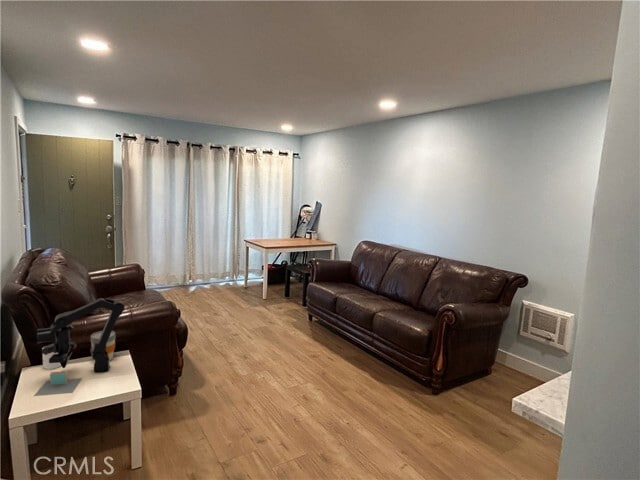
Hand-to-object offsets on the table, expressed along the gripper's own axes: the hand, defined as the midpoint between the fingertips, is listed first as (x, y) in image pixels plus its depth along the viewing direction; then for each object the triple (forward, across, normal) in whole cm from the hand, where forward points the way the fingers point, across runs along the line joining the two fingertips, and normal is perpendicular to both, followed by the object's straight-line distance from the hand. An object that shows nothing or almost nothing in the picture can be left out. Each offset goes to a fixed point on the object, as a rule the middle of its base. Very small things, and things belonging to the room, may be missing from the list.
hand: (64, 367), depth 188 cm
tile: (+5, +6, 0) cm, 8 cm away
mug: (+6, -16, -11) cm, 20 cm away
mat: (+6, +9, +1) cm, 11 cm away
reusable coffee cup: (+6, -20, +13) cm, 25 cm away
